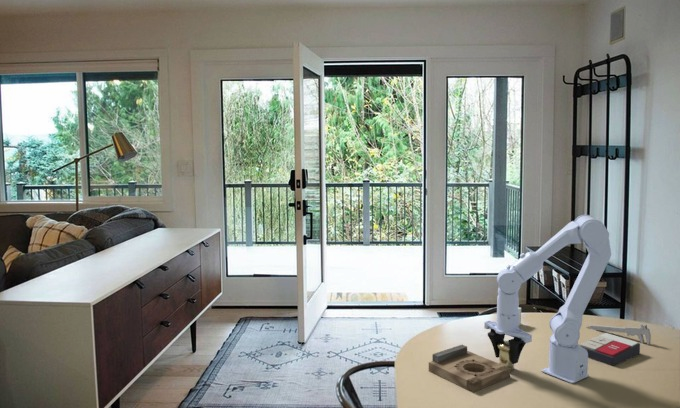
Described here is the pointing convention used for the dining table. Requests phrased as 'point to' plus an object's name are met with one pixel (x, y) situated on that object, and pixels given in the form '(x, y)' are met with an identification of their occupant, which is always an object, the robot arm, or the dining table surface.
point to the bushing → (505, 354)
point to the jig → (467, 368)
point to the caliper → (626, 331)
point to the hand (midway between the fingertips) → (506, 359)
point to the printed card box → (611, 349)
